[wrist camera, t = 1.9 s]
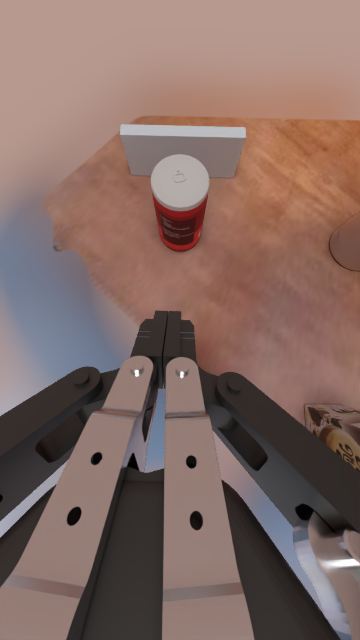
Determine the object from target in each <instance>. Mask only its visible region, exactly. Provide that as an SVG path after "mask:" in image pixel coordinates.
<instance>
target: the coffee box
mask: <svg viewBox="0 0 360 640" xmlns="http://www.w3.org/2000/svg"><path fill="white" fill-rule="evenodd" d="M304 407H305V419H306V429H308V430H309V431H310V432H311V433H313V434H314V435H315V436H316V437H317V438H319V439H320V440H321V441H322V442H323V443H325V444H326V445H327V446H328V447H329V448H331V449H332V450H333V451H334V452H336V453H337V454H338V455H339V456H340V457H342V458H343V459H344V460H345V461H346V462H348V463H349V464H350V465H351V466H352V467H354V468H355V469H356V470H357V471H358V472H360V411H357V410H354V409H352V408H349V407H346V406H343V405H330V404H306V405H305V406H304Z"/></svg>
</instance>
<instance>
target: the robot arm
mask: <svg viewBox="0 0 360 640" xmlns="http://www.w3.org/2000/svg"><path fill="white" fill-rule="evenodd" d="M330 250H331V253H332V255H333V257H334V258H335V260H336V261H337V262H338V263H339V264H341V265H342V266H344V267H345V268H348V269H350V270H355V271H360V212H359V213H357V214H356V215H355V216H353V217H352V218H351V219H349V220H348V221H347V222H345V223H344V224H343V225H341V226H340V227H339V228H338V229H336V230H335V231H334V233H333V234H332V236H331V239H330ZM163 384H164V388H165V389H166V414H165V468H164V469H160V470H157V471H153V472H150V473H144V470H145V464H146V456H147V445H148V440H149V435H150V430H151V426H152V421H153V416H154V412H155V407H156V399H157V394H158V388H162V389H163ZM212 430H213V431H214V432H215V433H216V434H217V436H218V437H219V438H220V439H221V440H222V442H223V443H224V444H225V445H226V446H227V448H228V449H229V450H230V451H231V452H232V454H233V455H234V456H235V457H236V458H237V460H238V461H239V462H240V463H241V465H242V466H243V467H244V468H245V469H246V471H247V472H248V473H249V474H250V476H251V477H252V478H253V479H254V480H255V482H256V483H257V484H258V485H259V486H260V488H261V489H262V490H263V491H264V492H265V494H266V495H267V496H268V497H269V499H270V500H271V501H272V502H273V503H274V505H275V506H276V507H277V508H278V509H279V510H280V512H281V513H282V514H283V515H284V517H285V518H286V519H287V520H288V521H289V523H290V524H291V525H292V526H293V528H294V531H293V542H294V548H295V551H296V555H297V557H298V560H299V562H300V564H301V566H302V568H303V570H304V571H305V573H306V575H307V576H308V578H309V579H310V581H311V583H312V584H313V586H314V588H315V590H316V592H317V594H318V597H319V599H320V602H321V605H322V609H323V612H324V614H323V613H322V611H321V610H320V609H319V607H318V606H317V604H316V603H315V601H314V600H313V599H312V597H311V596H310V594H309V593H308V591H307V590H306V589H305V588H304V586H303V584H302V583H301V581H300V580H299V579H298V577H297V576H296V574H295V573H294V572H293V570H292V569H291V567H290V566H289V564H288V563H287V562H286V560H285V559H284V557H283V556H282V554H281V553H280V552H279V550H278V549H277V547H276V546H275V544H274V543H273V542H272V540H271V539H270V537H269V536H268V534H267V533H266V532H265V530H264V529H263V527H262V526H261V524H260V523H259V522H258V520H257V519H256V517H255V516H254V515H253V513H252V512H251V510H250V509H249V507H248V506H247V504H246V503H245V502H244V500H243V499H242V498H241V497H240V496H239V494H238V493H237V492H236V491H235V490H234V489H233V488H231V487H230V486H229V485H228V484H227V483H226V482H224V481H223V480H221V476H220V470H219V465H218V459H217V454H216V448H215V443H214V437H213V432H212ZM68 459H69V460H68ZM67 460H68V462H67V464H66V466H65V468H64V471H63V473H62V475H61V477H60V479H59V481H58V483H57V484H56V485H55V486H54V487H52V488H51V489H50V490H49V491H48V492H46V493H45V494H44V495H43V496H42V497H41V498H40V499H39V500H38V501H37V502H36V503H35V504H34V505H33V506H32V507H31V508H30V509H29V510H28V511H27V512H26V513H25V514H24V515H23V516H22V517H21V518H20V519H19V520H18V521H17V522H16V523H15V524H14V525H13V526H12V527H11V528H10V529H9V530H8V531H7V532H6V533H5V534H4V535H3V536H2V537H1V538H0V640H360V472H358V471H357V470H356V469H355V468H354V467H352V466H351V465H350V464H349V463H348V462H346V461H345V460H344V459H343V458H342V457H340V456H339V455H338V454H337V453H336V452H334V451H333V450H332V449H331V448H329V447H328V446H327V445H326V444H325V443H323V442H322V441H321V440H320V439H319V438H317V437H316V436H315V435H314V434H313V433H311V432H310V431H309V430H308V429H306V428H305V427H304V426H303V425H302V424H300V423H299V422H298V421H297V420H296V419H294V418H293V417H292V416H291V415H290V414H288V413H287V412H286V411H285V410H284V409H282V408H281V407H280V406H279V405H277V404H276V403H275V402H274V401H273V400H271V399H270V398H269V397H268V396H267V395H265V394H264V393H263V392H262V391H261V390H259V389H258V388H257V387H256V386H255V385H253V384H252V383H251V382H250V381H248V380H247V379H246V378H245V377H243V376H242V375H240V374H238V373H234V372H226V373H223V374H221V375H220V376H219V377H218V376H215V375H212V374H209V373H207V372H205V371H203V370H202V369H201V368H200V367H199V366H198V364H197V362H196V351H195V336H194V325H193V324H192V323H191V321H190V320H181V312H179V311H169V314H168V311H155V315H154V319H146V320H145V321H144V322H143V323H142V324H141V325H140V328H139V332H138V335H137V338H136V341H135V344H134V347H133V350H132V354H131V357H130V358H129V359H127V360H126V361H125V362H124V363H123V364H122V366H121V368H119V369H117V370H113V371H109V372H105V373H100V372H99V371H98V370H97V369H96V368H94V367H82V368H79V369H76V370H75V371H73V372H71V373H70V374H68V375H66V376H65V377H63V378H61V379H60V380H58V381H57V382H55V383H53V384H52V385H50V386H48V387H47V388H45V389H44V390H42V391H40V392H39V393H37V394H36V395H34V396H32V397H31V398H29V399H27V400H26V401H24V402H23V403H21V404H19V405H18V406H16V407H14V408H13V409H11V410H10V411H8V412H6V413H5V414H3V415H1V416H0V521H1V520H2V519H3V518H4V517H5V516H6V515H8V513H10V512H11V511H12V510H13V509H14V508H15V507H16V506H18V505H19V504H20V503H21V502H22V501H23V500H24V499H25V498H26V497H27V496H28V495H30V494H31V493H32V492H33V491H34V490H35V489H36V488H37V487H38V486H40V485H41V484H42V483H43V482H44V481H45V480H46V479H47V478H48V477H50V476H51V475H52V474H53V473H54V472H55V471H56V470H57V469H58V468H59V467H60V466H62V465H63V464H64V463H65V462H66V461H67Z"/></svg>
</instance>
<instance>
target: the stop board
mask: <svg viewBox="0 0 360 640" xmlns="http://www.w3.org/2000/svg"><path fill="white" fill-rule="evenodd" d="M120 137H121V140H122V144H123V147H124V151H125V154H126V158H127V161H128V165H129V168H130V172H131V175H137V176H151V175H152V172H153V170H154V168H155V166H156V165H157V164H158V163H159V162H160V161H161V160H163V159H164V158H166V157H168V156H171V155H177V154H182V155H188V156H191V157H193V158H195V159H197V160H198V161H200V162H201V163H202V164H203V165H204V167H205V168H206V170H207V172H208V175H209V177H213V178H233V177H234V174H235V171H236V167H237V164H238V161H239V158H240V155H241V151H242V148H243V145H244V142H245V138H246V131H245V127H208V126H166V125H123V124H121V130H120Z"/></svg>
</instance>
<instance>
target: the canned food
mask: <svg viewBox="0 0 360 640" xmlns="http://www.w3.org/2000/svg"><path fill="white" fill-rule="evenodd" d="M151 188H152V194H153V200H154V206H155V211H156V216H157V222H158V227H159V232H160V236H161V238H162V240H163V242H164V243H165V244H166V245H167V246H168V247H169V248H171V249H173V250H176V251H185V250H188V249H190V248H192V247H193V246H194V245H195V244H196V243H197V241H198V240H199V238H200V235H201V230H202V225H203V219H204V214H205V209H206V203H207V198H208V191H209V175H208V172H207V170H206V168H205V167H204V165H203V164H202V163H201V162H200V161H198V160H197V159H195V158H193V157H191V156H188V155H182V154H177V155H171V156H168V157H166V158H164V159H163V160H161V161H160V162H159V163H158V164H157V165H156V166H155V168H154V170H153V172H152V175H151Z"/></svg>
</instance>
